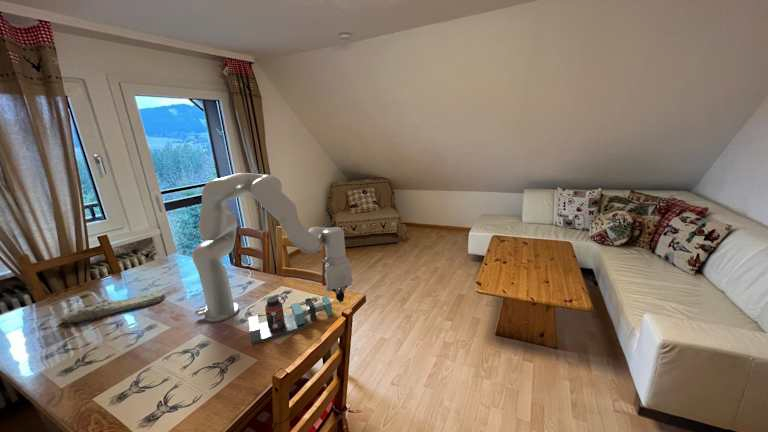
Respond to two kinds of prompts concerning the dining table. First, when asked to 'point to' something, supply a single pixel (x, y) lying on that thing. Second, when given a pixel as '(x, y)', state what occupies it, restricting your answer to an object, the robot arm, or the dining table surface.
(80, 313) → the long grey stone
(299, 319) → the blue dumbbell
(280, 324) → the supplement bottle
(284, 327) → the press bed
